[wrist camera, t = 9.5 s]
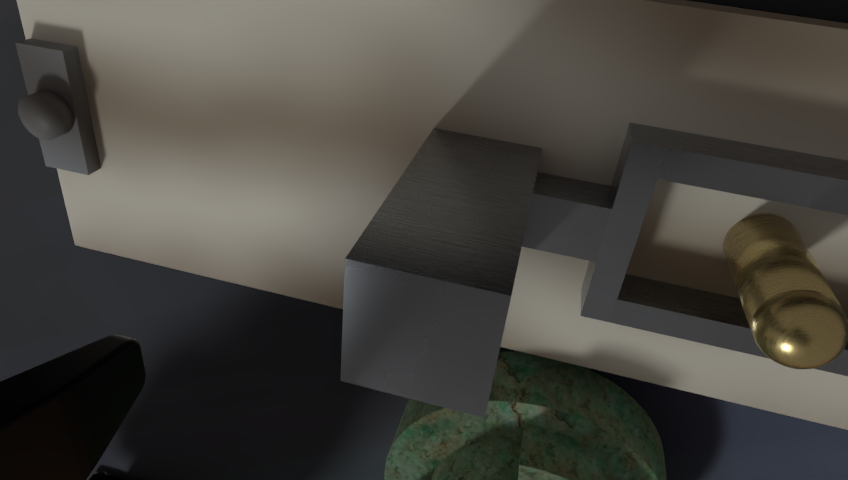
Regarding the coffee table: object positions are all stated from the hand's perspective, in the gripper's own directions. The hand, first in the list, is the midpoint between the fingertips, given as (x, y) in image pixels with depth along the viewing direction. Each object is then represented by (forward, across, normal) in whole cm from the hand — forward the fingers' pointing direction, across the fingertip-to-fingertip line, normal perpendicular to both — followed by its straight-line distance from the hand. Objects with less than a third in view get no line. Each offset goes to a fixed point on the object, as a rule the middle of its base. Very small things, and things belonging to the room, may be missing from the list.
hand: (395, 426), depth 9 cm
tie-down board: (+10, +1, 0) cm, 10 cm away
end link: (+9, -5, 0) cm, 10 cm away
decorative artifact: (+10, -3, +11) cm, 16 cm away
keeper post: (+10, -7, 0) cm, 13 cm away
